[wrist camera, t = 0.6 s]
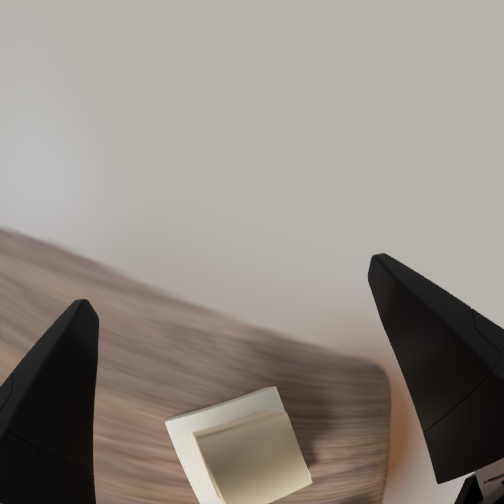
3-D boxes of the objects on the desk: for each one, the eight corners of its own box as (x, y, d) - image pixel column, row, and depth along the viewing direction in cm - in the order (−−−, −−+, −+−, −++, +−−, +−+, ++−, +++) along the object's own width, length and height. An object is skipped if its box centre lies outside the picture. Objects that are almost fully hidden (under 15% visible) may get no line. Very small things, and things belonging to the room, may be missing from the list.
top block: (284, 469, 16) (312, 482, 12) (217, 494, 13) (232, 516, 10) (262, 410, 17) (287, 413, 14) (191, 432, 15) (201, 443, 12)
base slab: (295, 471, 18) (311, 477, 16) (202, 507, 14) (208, 519, 12) (263, 387, 21) (275, 386, 19) (163, 418, 17) (164, 421, 15)
